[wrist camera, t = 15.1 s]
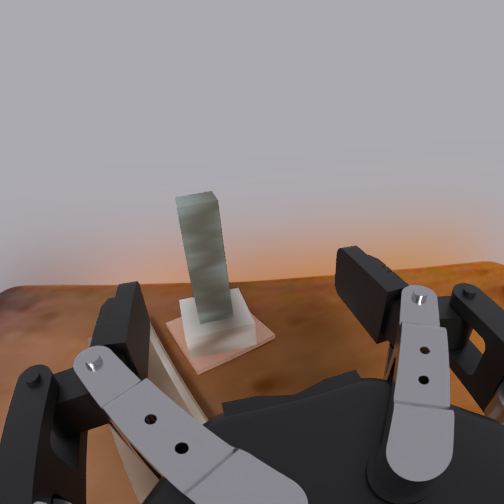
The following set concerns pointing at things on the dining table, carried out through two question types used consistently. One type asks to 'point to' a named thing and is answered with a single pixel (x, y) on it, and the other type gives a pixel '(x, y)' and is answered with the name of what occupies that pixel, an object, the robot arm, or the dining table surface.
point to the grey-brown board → (177, 391)
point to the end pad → (215, 360)
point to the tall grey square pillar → (210, 283)
